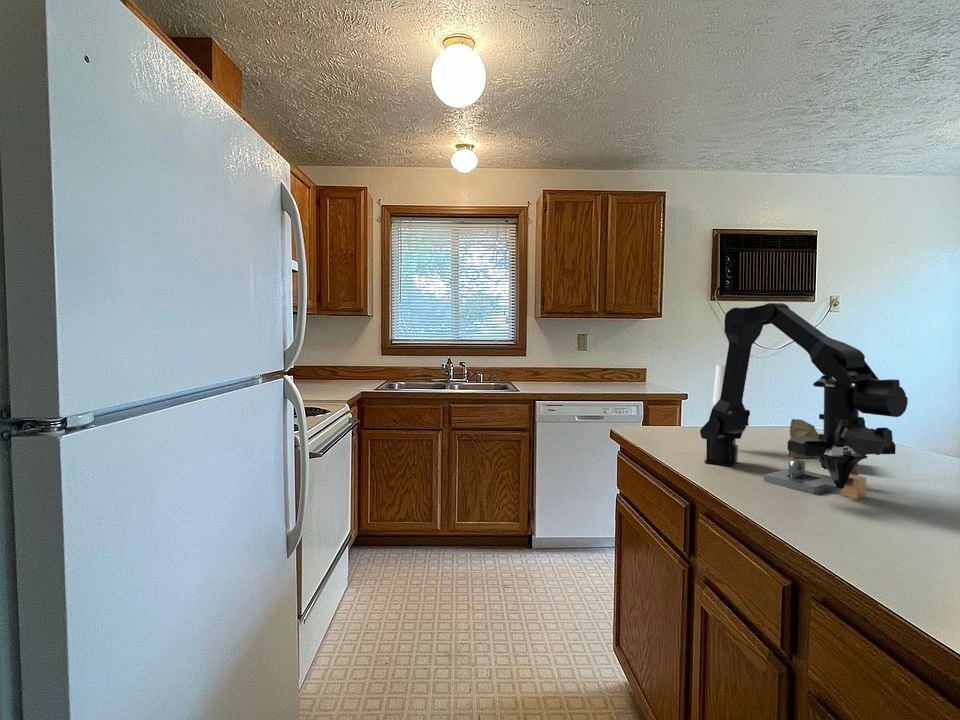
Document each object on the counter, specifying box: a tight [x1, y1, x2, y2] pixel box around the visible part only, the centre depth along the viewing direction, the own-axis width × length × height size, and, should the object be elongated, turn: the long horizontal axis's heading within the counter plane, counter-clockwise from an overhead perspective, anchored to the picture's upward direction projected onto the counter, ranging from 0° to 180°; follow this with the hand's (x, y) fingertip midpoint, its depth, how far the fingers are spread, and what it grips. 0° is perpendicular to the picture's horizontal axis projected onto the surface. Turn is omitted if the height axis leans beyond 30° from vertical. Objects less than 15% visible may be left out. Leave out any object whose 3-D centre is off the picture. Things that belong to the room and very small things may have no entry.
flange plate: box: [763, 468, 867, 500], centre depth 110 cm, size 17×11×4 cm, turn 26°
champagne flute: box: [712, 364, 726, 407], centre depth 147 cm, size 7×7×24 cm
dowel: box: [850, 462, 859, 476], centre depth 111 cm, size 2×2×5 cm
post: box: [788, 458, 806, 480], centre depth 113 cm, size 3×3×5 cm
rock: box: [788, 418, 820, 459], centre depth 137 cm, size 11×9×10 cm
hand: (840, 488), depth 103 cm, fingers closed
